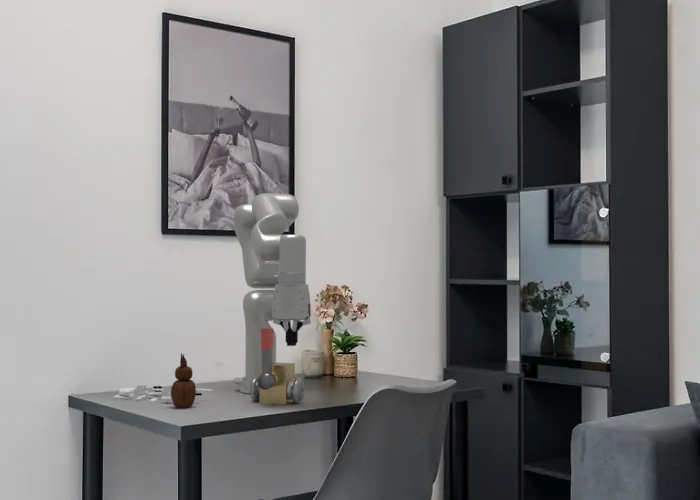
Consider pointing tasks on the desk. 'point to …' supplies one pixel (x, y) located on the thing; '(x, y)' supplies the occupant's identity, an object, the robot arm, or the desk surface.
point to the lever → (266, 360)
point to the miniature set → (142, 389)
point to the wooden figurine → (183, 386)
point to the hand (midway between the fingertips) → (291, 345)
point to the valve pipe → (279, 386)
